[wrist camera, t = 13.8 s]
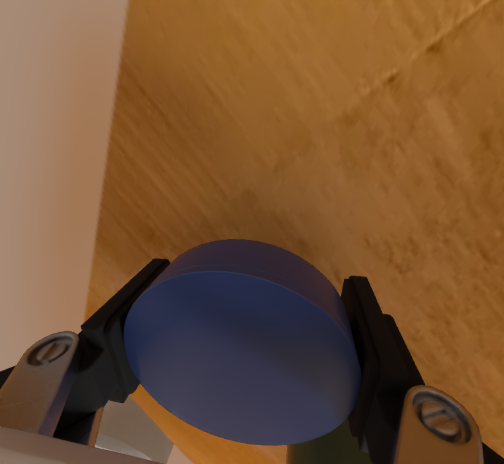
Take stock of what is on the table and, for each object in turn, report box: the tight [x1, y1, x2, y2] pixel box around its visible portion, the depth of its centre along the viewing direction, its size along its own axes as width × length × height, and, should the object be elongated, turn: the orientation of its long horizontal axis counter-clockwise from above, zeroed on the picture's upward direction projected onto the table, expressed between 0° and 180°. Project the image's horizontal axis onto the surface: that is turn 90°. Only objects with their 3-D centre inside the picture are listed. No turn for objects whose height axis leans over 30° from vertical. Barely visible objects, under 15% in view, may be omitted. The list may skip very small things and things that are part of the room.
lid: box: [123, 239, 362, 446], centre depth 8 cm, size 7×7×2 cm
